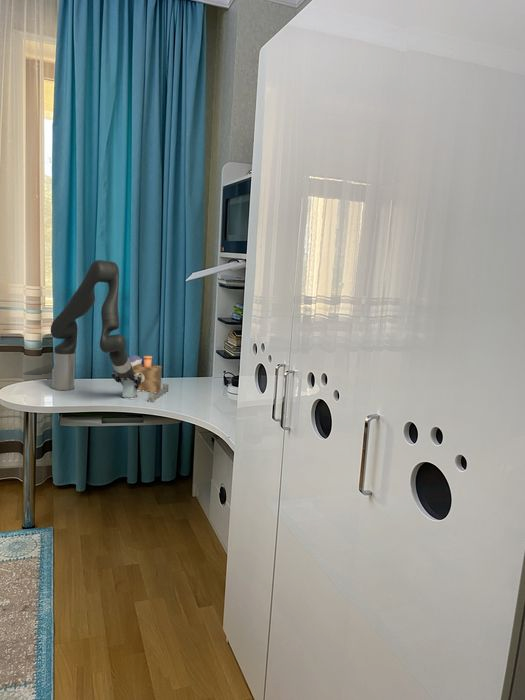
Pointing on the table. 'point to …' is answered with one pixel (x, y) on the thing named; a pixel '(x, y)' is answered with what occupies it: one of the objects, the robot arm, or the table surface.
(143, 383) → the end cabinet
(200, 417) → the table surface
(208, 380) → the table surface
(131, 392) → the pale grey rectangular block
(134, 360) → the toy
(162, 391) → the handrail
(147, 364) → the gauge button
